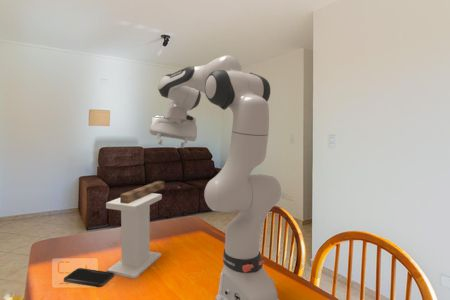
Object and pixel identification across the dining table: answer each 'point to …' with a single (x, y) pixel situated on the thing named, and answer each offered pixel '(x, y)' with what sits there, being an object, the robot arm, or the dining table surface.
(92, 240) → the dining table surface
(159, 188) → the walnut bar
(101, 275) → the phone
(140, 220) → the pedestal
